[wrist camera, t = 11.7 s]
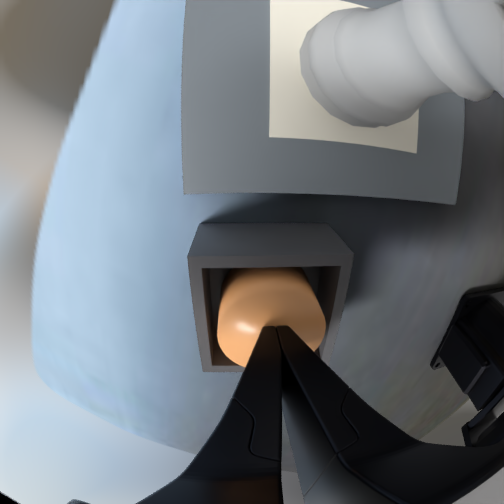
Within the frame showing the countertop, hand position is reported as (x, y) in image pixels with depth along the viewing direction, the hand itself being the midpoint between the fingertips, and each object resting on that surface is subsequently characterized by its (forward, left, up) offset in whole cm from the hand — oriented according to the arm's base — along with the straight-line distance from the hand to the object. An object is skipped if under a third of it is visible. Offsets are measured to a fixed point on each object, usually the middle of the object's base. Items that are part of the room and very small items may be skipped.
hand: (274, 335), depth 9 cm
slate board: (-3, -9, -4) cm, 10 cm away
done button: (0, 0, -2) cm, 2 cm away
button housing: (0, 0, -4) cm, 4 cm away
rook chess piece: (-3, -9, -3) cm, 10 cm away
